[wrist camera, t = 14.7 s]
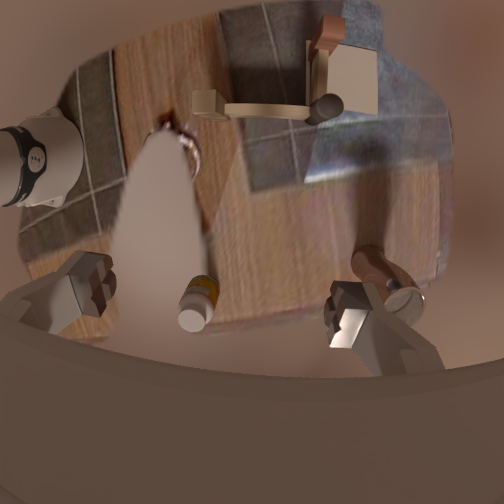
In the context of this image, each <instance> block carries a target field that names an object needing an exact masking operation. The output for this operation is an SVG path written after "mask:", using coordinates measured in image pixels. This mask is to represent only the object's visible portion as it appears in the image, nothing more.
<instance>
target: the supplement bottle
mask: <svg viewBox="0 0 504 504" xmlns="http://www.w3.org/2000/svg"><path fill="white" fill-rule="evenodd" d="M219 293H220V288H219V285H218V283H217V282H216V281H215V280H214V279H213V278H212V277H209V276H206V275H199V276H196V277H194V278H193V279H192V280H191V281H190V283H189V285H188V287H187V289H186V291H185V292H184V295H183V297H182V298H181V300H180V303H179V315H178V322H179V324H180V326H181V327H182V328H184V329H185V330H187V331H190V332H198V331H200V330H202V329H203V328H204V326H205V324H206V323H208V322H209V321H210V320H211V318H212V316H213V314H214V310H215V307H216V304H217V301H218V297H219Z"/></svg>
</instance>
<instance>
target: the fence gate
mask: <svg viewBox="0 0 504 504" xmlns="http://www.w3.org/2000/svg"><path fill="white" fill-rule="evenodd" d="M344 37H345V18H341V17H336V16H331V15H326V14H323V16H322V18H321V21H320V23H319V25H318V27H317V29H316V32H315V34H314V36H313V38H312V41H311V43H310V45H309V50H308V61H312V74H311V91H310V105H313V104H314V103H315V102H316V101H317V100H318V99H320V98H321V97H322V96H323V95H325V94H327V81H328V58H329V57H330V55H331V54H332V53H333V51H334V50H335V49H336V47H337V46H338V45H339V43H340V42H341V41H342V39H343V38H344Z"/></svg>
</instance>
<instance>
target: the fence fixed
mask: <svg viewBox="0 0 504 504" xmlns="http://www.w3.org/2000/svg"><path fill="white" fill-rule="evenodd" d="M343 110H344V104H343V101H342V99H341V98H340V97H339V96H338V95H336V94H333V93H328V94H325V95H323V96H322V97H321V98H320V99H318V100H317V101H316V102H315V103H314V104H313V105H311V106H310V107H309V106H296V105H280V104H229V103H228V102H227V101H226V100H225V99H224V97H223V96H222V95H221V94H220V93H219V92H218V91H217V90H216V89H214V90H196V91H193V95H192V113H194V114H197V115H199V116H202V117H204V118H207V119H209V120H211V121H214V122H223V121H231V117H252V118H282V119H298V120H305V122H306V123H307V124H309V125H317V124H319V123H322V122H324V121H327V120H329V119H332V118H335V117H337V116H339V115H340V114H341V113H342V112H343Z"/></svg>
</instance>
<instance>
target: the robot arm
mask: <svg viewBox="0 0 504 504" xmlns="http://www.w3.org/2000/svg"><path fill="white" fill-rule="evenodd" d="M83 156H84V151H83V143H82V138H81V135H80V133H79V131H78V129H77V128H76V126H75V125H74V124H73V123H72V122H71V121H69V120H68V119H66V118H65V117H64V116H63V114H62V112H61V110H60V109H59V108H58V107H53V108H51V109H49V110H47V111H46V112H44V113H43V114H41V115H40V116H35V117H28V118H26V120H25V121H23V122H22V123H21V124H20V125H18V126H17V127H14V126H11V127H7V128H3V129H0V206H2V207H7V206H10V205H11V206H12V205H15V204H16V206H24V205H25V207H29V206H36V205H39V204H43V205H48V206H52V207H61V206H62V205H63V203H64V201H65V198H66V195H67V193H68V191H69V190H70V189H71V188H72V187H73V186H74V184H75V183H76V181H77V179H78V177H79V175H80V172H81V169H82V165H83ZM112 266H113V261H112V257H111V256H109V255H106V254H100V253H93V252H87V251H80V250H78V251H75V252H74V253H73V254H72V255H71V256H70V257H69V258H68V259H67V261H66V262H65V263H64V264H63V265H62V266H61V267H60V268H59V269H58V270H57V271H56V272H51V273H49V274H47V275H45V276H43V277H41V278H38V279H36V280H34V281H32V282H30V283H28V284H26V285H24V286H21V287H19V288H17V289H15V290H13V291H11V292H9V293H8V294H6V296H5V297H4V298H3V299H2V300H1V301H0V504H504V358H503V359H499V360H495V361H490V362H486V363H481V364H476V365H471V366H465V367H459V368H454V369H447V370H446V369H445V367H444V365H443V362H442V360H441V358H440V356H439V354H438V351H437V349H436V347H435V346H434V345H432V344H431V343H430V342H429V341H427V340H426V339H425V338H424V337H422V336H421V335H420V334H419V333H417V332H416V331H415V330H414V329H412V328H411V327H410V326H408V325H407V324H406V323H405V322H403V321H402V320H401V319H399V318H398V317H397V316H396V315H394V314H393V313H392V312H390V311H386V308H385V306H384V304H383V302H382V300H381V298H380V295H379V293H378V291H377V289H376V287H375V285H374V284H373V283H371V282H349V281H335V280H334V281H333V283H332V285H331V288H330V292H331V296H330V297H329V298H328V299H327V300H326V303H325V307H324V322H325V325H327V326H328V327H329V329H328V331H327V337H328V341H329V346H330V347H341V348H352V350H353V351H354V353H355V354H356V355H357V356H358V357H359V358H360V360H361V361H362V362H363V363H364V364H365V366H366V367H367V368H368V369H369V370H370V372H371V373H372V374H373V375H374V376H375V377H356V378H355V377H354V378H302V377H280V376H265V375H252V374H242V373H232V372H223V371H215V370H207V369H200V368H193V367H187V366H181V365H174V364H169V363H164V362H158V361H153V360H148V359H144V358H139V357H134V356H130V355H125V354H121V353H117V352H113V351H109V350H105V349H101V348H98V347H94V346H90V345H87V344H83V343H80V342H77V341H73V340H70V339H67V338H64V337H61V336H58V335H55V334H57V333H58V332H59V331H61V330H62V329H63V328H65V327H66V326H68V325H69V324H70V323H72V322H73V321H74V320H76V319H77V318H79V317H80V316H81V315H82V314H84V315H88V316H93V317H98V318H100V317H101V315H102V314H103V312H104V310H105V309H106V307H107V304H106V301H108V300H110V299H112V297H113V295H114V294H115V290H116V276H115V274H114V273H113V271H112V270H111V268H112Z"/></svg>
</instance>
